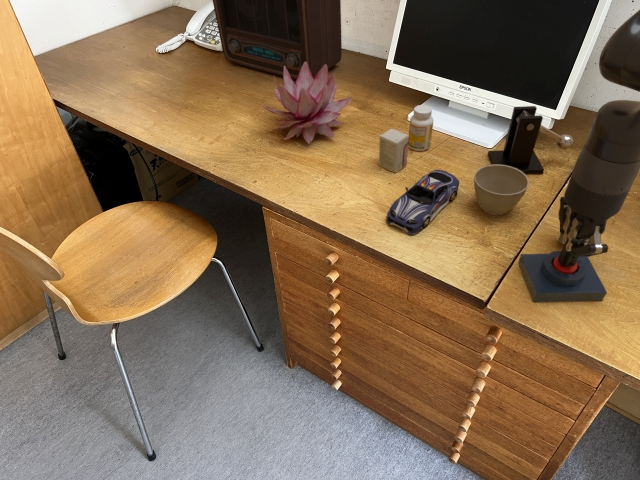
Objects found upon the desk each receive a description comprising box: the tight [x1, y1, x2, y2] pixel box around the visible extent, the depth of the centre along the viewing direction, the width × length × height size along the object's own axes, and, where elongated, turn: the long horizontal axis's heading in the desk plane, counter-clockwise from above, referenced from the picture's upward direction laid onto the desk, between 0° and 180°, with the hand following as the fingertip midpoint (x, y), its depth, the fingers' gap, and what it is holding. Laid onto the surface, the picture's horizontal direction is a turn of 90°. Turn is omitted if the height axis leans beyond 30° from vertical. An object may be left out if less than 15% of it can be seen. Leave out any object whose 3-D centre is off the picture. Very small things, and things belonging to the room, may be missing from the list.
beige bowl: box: [473, 164, 530, 216], centre depth 93 cm, size 10×10×7 cm
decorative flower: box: [260, 62, 353, 145], centre depth 117 cm, size 21×21×15 cm
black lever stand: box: [487, 105, 545, 175], centre depth 102 cm, size 10×8×13 cm
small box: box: [378, 128, 409, 174], centre depth 106 cm, size 5×4×8 cm
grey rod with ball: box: [516, 110, 574, 150], centre depth 101 cm, size 14×3×3 cm, turn 89°
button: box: [552, 256, 578, 274], centre depth 79 cm, size 4×4×2 cm
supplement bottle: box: [408, 104, 434, 152], centre depth 111 cm, size 5×5×10 cm
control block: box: [517, 250, 608, 303], centre depth 80 cm, size 11×9×4 cm
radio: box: [212, 0, 343, 80], centre depth 143 cm, size 36×18×30 cm, turn 54°
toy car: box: [385, 169, 460, 235], centre depth 96 cm, size 8×18×5 cm, turn 139°
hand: (565, 263), depth 78 cm, fingers closed
